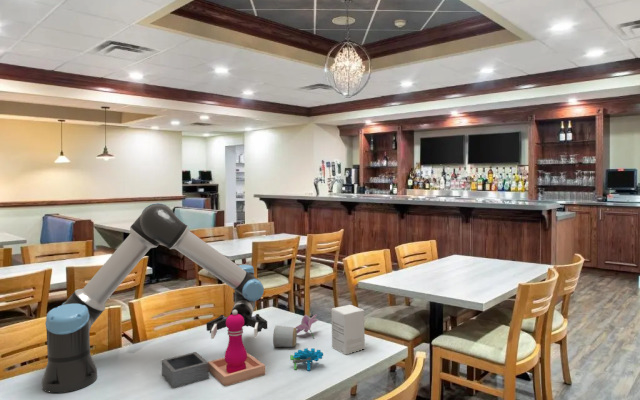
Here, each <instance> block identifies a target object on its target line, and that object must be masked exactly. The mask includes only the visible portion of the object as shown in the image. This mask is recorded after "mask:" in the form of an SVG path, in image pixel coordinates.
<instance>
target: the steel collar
mask: <svg viewBox="0 0 640 400" xmlns="http://www.w3.org/2000/svg"><path fill="white" fill-rule="evenodd" d="M208 362H209V361H207V360H206V359H205V358H203V356H201V355H200V354H199V353H198V352H197V351H193V352H190V353H189V352H188V353H185V354H181V355H180V354H179V355H176V356H172V357H168V358H163V359H161V375H162V377H163V378H164V379H165V381H166V382H167V383H168V384H169V386H170V387H171V388H172V389H176V388H179V387H183V386H187V385H189V384H193V383H197V382H201V381H203V380H207V379H210V372H209V363H208Z"/></svg>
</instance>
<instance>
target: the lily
mask: <svg viewBox="0 0 640 400" xmlns="http://www.w3.org/2000/svg"><path fill="white" fill-rule="evenodd" d="M317 316H318V313H315V314H314V315H313V316H311V317H310V316H309V315H308V314H304V315H303V316H302V319H301V320H300V321H301V322H300V323H301V324H299V325H297V326H296V327H295V328H296V330H297V334H299V333H301V332H302V331H303V332H304V333H306V332H307V333H308V332H310V333H311V335H312V338H313V339H315V337H314V334H313V332H312V330H311V328H312V325H313V324H314V323H316V322H319V319H318V318H317Z"/></svg>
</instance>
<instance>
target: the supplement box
mask: <svg viewBox="0 0 640 400" xmlns="http://www.w3.org/2000/svg"><path fill="white" fill-rule="evenodd" d="M330 312H331V348H332V347H333V348H332V349H334V350H336V351H338V352H339V351H340V352H339V353H341V352H342V354H343V355H345V354H347V355H350V354H349V353H351V354H353V353H352V352H354V353H357V352H356V351H358V352H360V351H359V350H361V351H363V350H362V349H364V350H366V345H365V341H366V340H365V337H366V336H365V310H364V309H362V308H359V307H357V306H355V305H353V304H346V305H342V306H337V307H333V308H331V310H330Z"/></svg>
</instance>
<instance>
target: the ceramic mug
mask: <svg viewBox="0 0 640 400" xmlns="http://www.w3.org/2000/svg"><path fill="white" fill-rule="evenodd" d="M297 336H298V333H297V329H296V327H293V326H285V325H284V326H283V325H275V326H274V330H273V337H272V344H273V347H276V348H278V347H279V348H295V346H296V345H297V338H298V337H297Z"/></svg>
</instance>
